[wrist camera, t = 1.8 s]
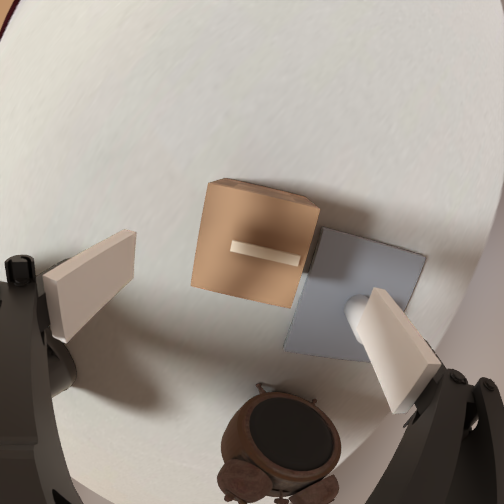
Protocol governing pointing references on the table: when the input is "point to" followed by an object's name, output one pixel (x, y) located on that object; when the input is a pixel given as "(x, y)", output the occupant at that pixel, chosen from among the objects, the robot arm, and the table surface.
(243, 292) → the tan drawer box
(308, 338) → the plate
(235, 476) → the alarm clock
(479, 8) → the table surface
